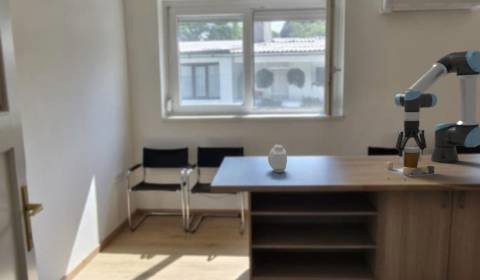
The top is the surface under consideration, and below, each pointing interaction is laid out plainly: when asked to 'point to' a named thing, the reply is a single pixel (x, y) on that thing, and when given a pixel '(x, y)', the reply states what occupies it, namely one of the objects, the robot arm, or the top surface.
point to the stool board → (405, 171)
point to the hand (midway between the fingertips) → (410, 162)
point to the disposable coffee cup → (411, 156)
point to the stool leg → (425, 169)
